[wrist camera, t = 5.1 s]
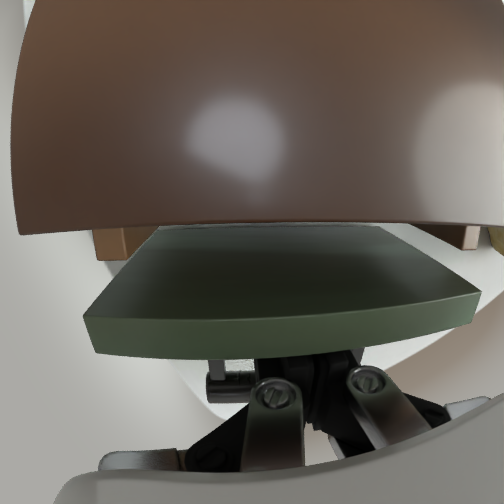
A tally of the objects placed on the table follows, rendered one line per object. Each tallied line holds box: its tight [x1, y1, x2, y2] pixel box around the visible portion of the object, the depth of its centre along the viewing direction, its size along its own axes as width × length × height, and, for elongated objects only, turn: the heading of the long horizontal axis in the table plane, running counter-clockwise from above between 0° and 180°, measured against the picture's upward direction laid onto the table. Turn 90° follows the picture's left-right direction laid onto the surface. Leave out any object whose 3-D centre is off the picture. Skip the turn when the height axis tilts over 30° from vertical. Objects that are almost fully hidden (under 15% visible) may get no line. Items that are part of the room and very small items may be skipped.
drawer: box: [83, 223, 482, 403], centre depth 9 cm, size 18×11×8 cm, turn 0°
